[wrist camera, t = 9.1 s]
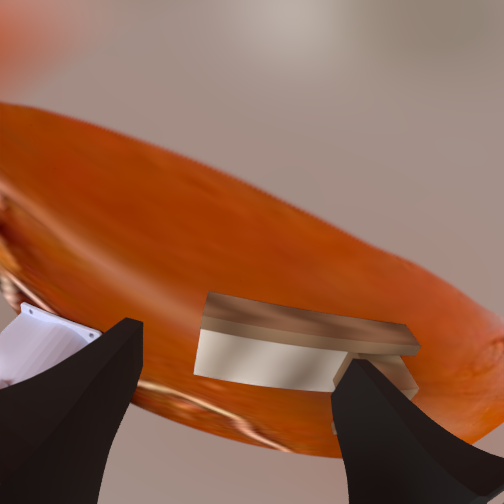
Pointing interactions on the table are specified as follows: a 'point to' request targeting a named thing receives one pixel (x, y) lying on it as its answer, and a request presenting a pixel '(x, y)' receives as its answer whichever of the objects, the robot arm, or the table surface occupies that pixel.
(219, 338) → the board
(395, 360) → the block
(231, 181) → the table surface
